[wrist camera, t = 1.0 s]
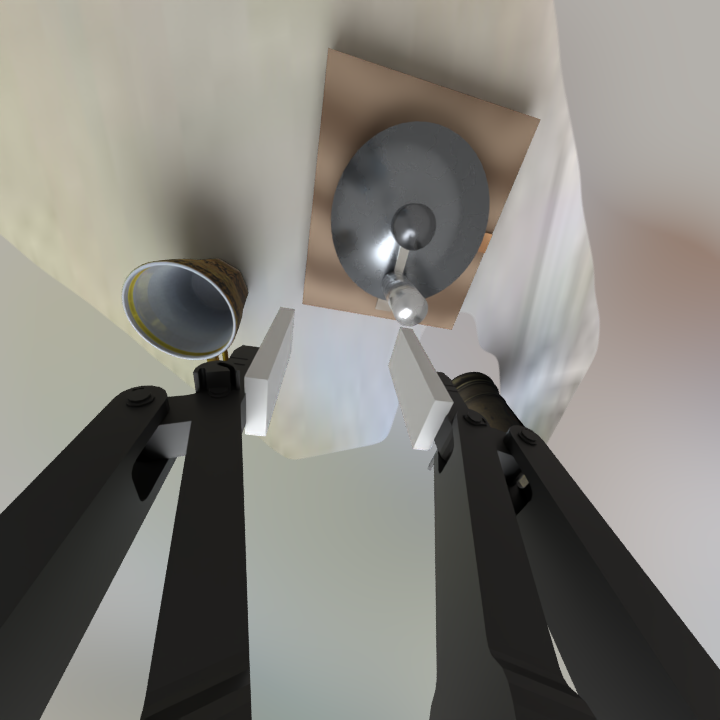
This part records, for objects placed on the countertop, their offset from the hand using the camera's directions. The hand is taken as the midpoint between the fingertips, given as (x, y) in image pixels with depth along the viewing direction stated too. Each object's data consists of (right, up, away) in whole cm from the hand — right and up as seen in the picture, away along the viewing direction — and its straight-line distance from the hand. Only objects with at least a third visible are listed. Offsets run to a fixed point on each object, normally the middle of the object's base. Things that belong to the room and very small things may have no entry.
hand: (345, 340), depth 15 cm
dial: (+6, +14, +13) cm, 20 cm away
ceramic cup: (-17, +7, +19) cm, 26 cm away
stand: (+6, +15, +16) cm, 23 cm away
